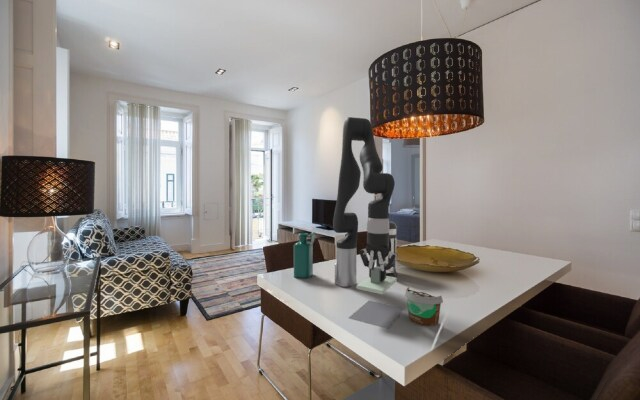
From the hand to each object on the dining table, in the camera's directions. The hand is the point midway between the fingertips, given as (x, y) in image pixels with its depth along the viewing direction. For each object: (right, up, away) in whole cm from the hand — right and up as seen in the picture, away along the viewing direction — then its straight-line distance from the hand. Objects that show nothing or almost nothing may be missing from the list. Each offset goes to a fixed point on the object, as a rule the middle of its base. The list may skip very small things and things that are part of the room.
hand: (377, 279), depth 98 cm
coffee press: (+14, -11, +48) cm, 51 cm away
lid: (0, -2, 0) cm, 2 cm away
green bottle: (-28, -11, +45) cm, 54 cm away
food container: (+13, -13, -6) cm, 19 cm away
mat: (0, -12, 0) cm, 12 cm away
